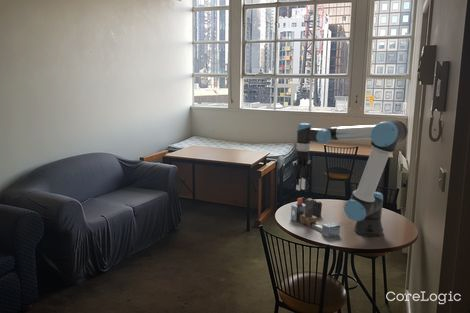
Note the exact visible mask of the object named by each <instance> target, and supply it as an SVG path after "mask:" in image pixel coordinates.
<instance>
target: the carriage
mask: <svg viewBox="0 0 470 313" xmlns="http://www.w3.org/2000/svg"><path fill="white" fill-rule="evenodd" d="M311 198H312V197H309V199H308V198H305V199H306V205H305V214H301V215H300V219H301V222H300V223H301V224H303V225H306V226H307V227H309V228H310V224H311V223H313V222H314V223H316V224H317V222H318V217H315V216H313V215H312V214H313V198H312V199H311Z"/></svg>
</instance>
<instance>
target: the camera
mask: <svg viewBox="0 0 470 313" xmlns="http://www.w3.org/2000/svg"><path fill="white" fill-rule="evenodd" d="M300 198H302V203H303V204H305V205H306V199H309V198H311V199H313V198H312V197H309V198H305V197H303V196H301V197H300ZM322 208H323V202H321V201H317V200H315V199H313V214H312V215H313V216H315V217H317V218H320V217H322Z"/></svg>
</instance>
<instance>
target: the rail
mask: <svg viewBox="0 0 470 313" xmlns="http://www.w3.org/2000/svg"><path fill="white" fill-rule="evenodd" d="M301 214H305V204H303V203H302V206H297V203H296V204H291V208H290V220H291V221H292V222H295V223H298V222H299V223H301V219H300V215H301ZM310 227H311V228H312V229H315V230H317V231H319V232H321V235H322V236H323V237H325V238H326V239H331V238H335V237H339V236H340V233H341V225H340V224H339V223H337V222H334V221H333V222H327V223H322V225H320V224H318V223H317V222H316V223H314V222H313V223H311V224H310ZM310 227H309V228H310Z"/></svg>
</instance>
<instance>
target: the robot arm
mask: <svg viewBox="0 0 470 313" xmlns="http://www.w3.org/2000/svg"><path fill="white" fill-rule="evenodd" d="M408 133H409V129H408V127H407V125H406V124H405V122H403V121H401V120H398V119H396V120H393V119H392V120H384V121H383V120H382V121H380V122H377V124H366V125H352V126H351V125H350V126H348V125H347V126H330V127H324V128H322V127H321V128H315V127H312V125H311V123H307V122H301V123H298V124H297V130H296V134H297V136H296V148H295V149H296V151H295V158H296V159H295V161H291V165H292V178H293V179H295V185H296V186H295V191H301V190H303V191H304V190H306V185H307V180H308V179H309V178H310V175H311V169H312V164H313V160H310V148H311V142H315V143H319V144H328V143H329V142H330V141H344V140H345V141H352V140H353V141H354V140H355V141H357V140H360V141H361V140H371V141H370V146H371V151H370V154H369V157H368V159H367V161H366V164H365V168H364V169H363V173H362V174H361V175H362V176H361V178H360V181H359V183H358V186H357V189H355V190H353V191H352V192H351V193H352V194H351V195H350V199H348V200H347V201H346V202H345V203H344V207H343V211H344V213H345V215H346V217H347V218H348V219H349V220H352V221H353V222H355V225H354V229H353V230H354V232H355V233H357V234H359V235H362V236H364V237H371V238H375V237H380V236H383V234H384V228H383V224H382V212H383V203H384V195H383V194H382V193H381V192H378V191H376V190H377V187H378V185H379V182H380V180H381V177H382V175H383V173H384V170H385V167H386V165H387V162H388V159H389V157H390V155H391V154H393V153H395V151H396V148H397V146H398V144H400V143H402V142H404V141H405V140H406V138H407V137H408ZM301 172H302V173H301ZM301 174H302V177H301Z"/></svg>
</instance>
